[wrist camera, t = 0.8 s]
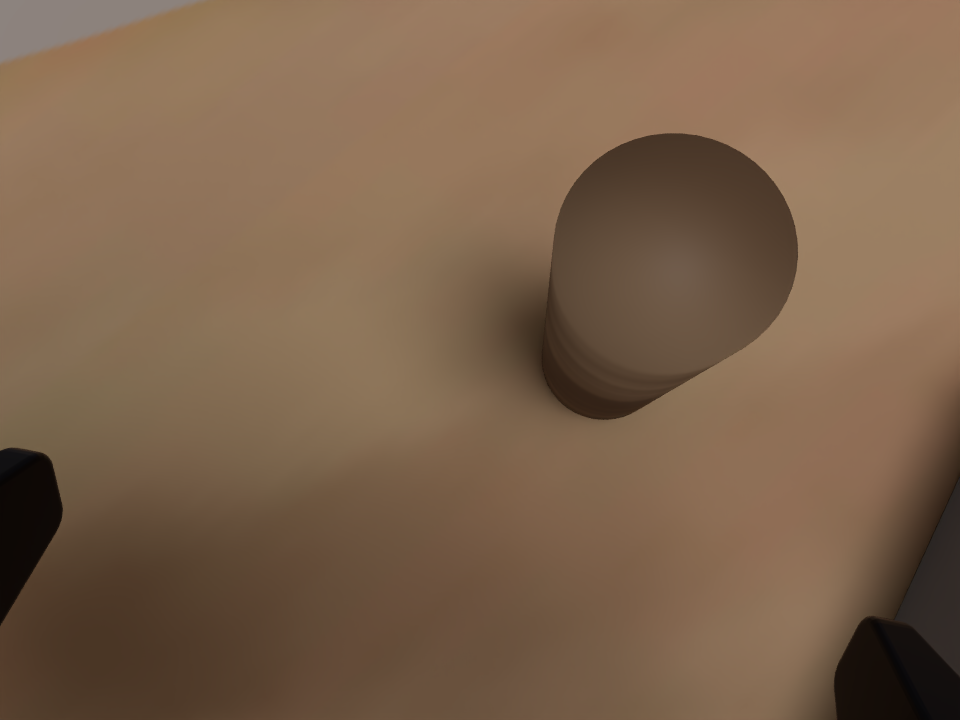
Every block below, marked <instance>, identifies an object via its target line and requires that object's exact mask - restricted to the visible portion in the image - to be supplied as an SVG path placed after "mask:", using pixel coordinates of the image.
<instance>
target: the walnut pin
mask: <svg viewBox="0 0 960 720" xmlns="http://www.w3.org/2000/svg"><path fill="white" fill-rule="evenodd" d="M797 260H798V244H797V236H796V230H795V225H794V221H793V218H792V215H791V212H790V209H789V207H788V205H787V203H786V201H785V199H784V197H783V195H782V194H781V192H780V190H779V189H778V187H777V186H776V184H775V183H774V182H773V181H772V179H771V178H770V177H769V176H768V175H767V173H766V172H765V171H764V170H763V169H761V168H760V167H759V166H758V165H757V164H756V163H755V162H754V161H752V160H751V159H750V158H748V157H747V156H745V155H744V154H743V153H741V152H739V151H737V150H736V149H734V148H732V147H730V146H728V145H726V144H723V143H721V142H718V141H716V140H713V139H709V138H705V137H701V136H697V135H689V134H658V135H650V136H646V137H642V138H638V139H635V140H632V141H629V142H627V143H624V144H622V145H620V146H618V147H616V148H614V149H612V150H610V151H608V152H607V153H605V154H604V155H603V156H601V157H600V158H598V159H597V160H596V161H595V162H593V163H592V164H591V165H590V166H589V167H588V168H587V169H586V170H585V171H584V172H583V173H582V174H581V176H580V177H579V178H578V179H577V180H576V182H575V183H574V185H573V186H572V188H571V189H570V191H569V193H568V194H567V196H566V198H565V200H564V203H563V205H562V207H561V209H560V213H559V216H558V219H557V223H556V228H555V235H554V242H553V252H552V262H551V272H550V281H549V291H548V301H547V311H546V320H545V330H544V340H543V349H542V366H543V372H544V376H545V379H546V381H547V384H548V386H549V387H550V389H551V391H552V392H553V394H554V395H555V396H556V398H557V399H558V400H559V401H560V402H561V403H562V404H563V405H565V406H566V407H567V408H569V409H570V410H572V411H573V412H575V413H577V414H580V415H582V416H585V417H588V418H593V419H602V420H608V419H616V418H620V417H624V416H626V415H629V414H631V413H633V412H635V411H637V410H638V409H640V408H642V407H644V406H645V405H647V404H649V403H650V402H652V401H654V400H656V399H657V398H659V397H661V396H662V395H664V394H666V393H668V392H669V391H671V390H673V389H674V388H676V387H678V386H680V385H681V384H683V383H685V382H686V381H688V380H690V379H691V378H693V377H695V376H697V375H698V374H700V373H702V372H703V371H705V370H707V369H709V368H710V367H712V366H714V365H715V364H717V363H719V362H721V361H722V360H724V359H726V358H727V357H729V356H731V355H733V354H734V353H736V352H738V351H739V350H741V349H743V348H744V347H746V346H747V345H749V344H750V343H751V342H753V341H754V340H755V339H757V338H758V337H759V336H760V335H761V334H762V333H763V332H764V331H765V330H766V329H767V328H768V327H769V326H770V325H771V324H772V322H773V321H774V320H775V319H776V317H777V316H778V315H779V313H780V311H781V310H782V308H783V306H784V305H785V303H786V301H787V299H788V296H789V294H790V291H791V289H792V286H793V282H794V278H795V274H796V269H797Z"/></svg>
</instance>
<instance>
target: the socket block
mask: <svg viewBox="0 0 960 720" xmlns="http://www.w3.org/2000/svg"><path fill="white" fill-rule="evenodd" d="M895 620H896V621H901V622H904V623H907V624H909V625H910V626H912V627H913V628H914V629H915V630H916V631H917V632H918V633H919V634H920V635H921V636H922V637H923V638H924V639H925V640H926V641H927V642H928V643H929V644H930V645H931V646H932V647H933V648H934V649H935V650H936V651H937V652H938V654H939V655H940V656H941V657H942V658H943V659H944V660H945V661H946V662H947V663H948V664H949V665H950V666H951V667H952V668H953V669H954V670H955V671H956V672H957V673H958V675H959V676H960V477H959V480H958V482H957V484H956V486H955V488H954V490H953V493H952V495H951V497H950V499H949V501H948V504H947V506H946V508H945V510H944V512H943V515H942V517H941V519H940V521H939V523H938V525H937V528H936V530H935V532H934V534H933V536H932V539H931V541H930V543H929V545H928V547H927V550H926V552H925V554H924V556H923V558H922V560H921V563H920V565H919V567H918V569H917V571H916V574H915V576H914V578H913V580H912V582H911V585H910V587H909V589H908V591H907V593H906V595H905V598H904V600H903V602H902V604H901V606H900V609H899V611H898V613H897V615H896V617H895Z"/></svg>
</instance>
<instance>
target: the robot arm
mask: <svg viewBox="0 0 960 720" xmlns="http://www.w3.org/2000/svg"><path fill="white" fill-rule="evenodd" d="M62 512H63V507H62V502H61V497H60V493H59V489H58V485H57V480H56V476H55V472H54V468H53V464H52V461H51V460H50V458H49V457H48V456H47V455H45V454H43V453H41V452H36V451H31V450H26V449H20V448H7V449H4V450H1V451H0V625H1V624H2V622H3V620H4V619H5V617H6V615H7V614H8V612H9V610H10V609H11V607H12V605H13V604H14V602H15V600H16V599H17V597H18V595H19V594H20V592H21V590H22V588H23V587H24V585H25V583H26V582H27V580H28V578H29V577H30V575H31V573H32V572H33V570H34V568H35V567H36V565H37V563H38V562H39V560H40V558H41V557H42V555H43V553H44V552H45V550H46V548H47V547H48V545H49V543H50V541H51V540H52V538H53V536H54V535H55V533H56V531H57V529H58V527H59V525H60V522H61V519H62ZM834 692H835V702H836V713H837V720H960V676H959V675H958V673H957V672H956V671H955V670H954V669H953V668H952V667H951V666H950V665H949V664H948V663H947V662H946V661H945V660H944V659H943V658H942V657H941V656H940V655H939V654H938V652H937V651H936V650H935V649H934V648H933V647H932V646H931V645H930V644H929V643H928V642H927V641H926V640H925V639H924V638H923V637H922V636H921V635H920V634H919V633H918V632H917V631H916V630H915V629H914V628H913V627H912V626H910V625H909V624H907V623H904V622H901V621H896V620H891V619H886V618H881V617H876V616H868V617H866V618H864V619H863V620H862V621H861V622H860V624H859V625H858V627H857V629H856V631H855V633H854V635H853V636H852V638H851V640H850V642H849V644H848V646H847V648H846V650H845V652H844V653H843V655H842V657H841V659H840V661H839V663H838V665H837V668H836V672H835V678H834Z"/></svg>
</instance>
